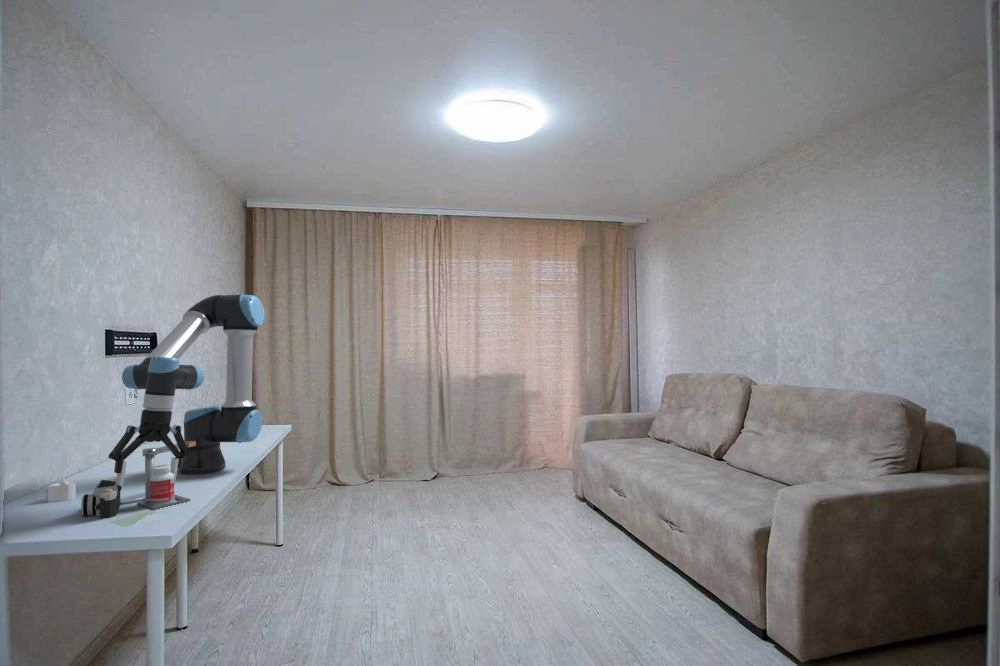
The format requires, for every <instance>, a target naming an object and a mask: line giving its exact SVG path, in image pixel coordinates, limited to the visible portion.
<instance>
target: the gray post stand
mask: <svg viewBox="0 0 1000 666" xmlns="http://www.w3.org/2000/svg"><path fill="white" fill-rule="evenodd" d="M155 465H156V464H155V455H154V456H147V457H145V456H144V471H145V472H144V486H145V487H144V489H145V491H144V492H145V493H144V495H145V497H144V498H141V500H142V501H138V502H136V504H137V505H136V506H140V507H142V508H146V509H150V510H152V509H153V511H157V509H158V510H161V509H160V508H162V509H165V508H164V507H166V508H169V507H168V506H170V507H173V506H172V505H174V506H176V504H177V505H181V504H184V502H185V503H188V501H189V502H191V498H189V497H184V496H181V495H177V494H175V502H172V503H168V504H164V505H160V506H154V505H151V504H150V477H151V476H152V475H153V473H152V468H153V467H156V466H155ZM176 499H177V500H176ZM180 503H181V504H180Z"/></svg>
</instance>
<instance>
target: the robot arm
mask: <svg viewBox="0 0 1000 666" xmlns="http://www.w3.org/2000/svg"><path fill="white" fill-rule="evenodd" d="M265 313H266V312H265V308H264V305H263V304H262V301H261V300H260V298H258V297H257V296H256V295H254V294H253V295H252V294H225V295H224V294H222V295H221V294H216V295H211V296H208V297H205V298H203V299H202V300H199V302H196V303H195V304H194V305H192V306H191V307H190V308H189V309H188V310H187V311H186V312H184V314H183V315H182V320H181V321H180V322H179V323H178V324H177V325H176V326H175V327H174V328H173V329H172V330H171V332H169V333H168V334H167V335H166V337H164V339H163V340H162V341H161V342H160V343H159V344H158V345H157V346H156V347H155V348H154V349H152V350H151V352H150V353H149V354H148V355H147V356H146V357H144V360H142V362H140V363H139V364H132V365H128V366H126V367H125V368H123V371H122V374H121V381H122V383H123V385H124V386H125V387H126V388H128V389H133V390H145V392H144V394H143V395H144V396H143V403H142V407H143V408H144V409H142V410H141V415H140V425H139V426H134V425H127V427H126V430H125V433H124V435H123V436H122V437H121V439H120V440H119V441H118V442H117V444H116V445H115V446H114V447H113V449H112V450H111V452H110V453H109V454H108V459H110V460H113V461H115V463H114V468H113V469H114V470H113V472H114V473H115V474H116V478H117V479H116V484H117V485H119V486H121V487H124V481H125V473H126V468H127V461H125V460H126V459H127V458H128V457H129V456H130V455H132V453H134V452H135V450H137V449H138V448H139V447H140V446H141V445H143V444H145V443H153V442H157V443H160V442H162V443H163V444H164V445H165V446H167V447H168V449H169V450H170V451H169V452H171V454H172V455H173V456H174V457H171V460H170V461H171V462H170V465H171V471H170V472H171V473H173V474H174V482H176V481H177V474H178V473H179V474H181V475H183V476H184V475H186V476H188V475H189V476H195V475H207V474H213V473H217V472H220V471H223V470H225V469H226V465H227V464H226V459H225V457H224V455H223V452H222V449H221V443H238V444H241V443H250V442H253V441H255V439H257V438H258V436H259V434H260V433H261V430H262V427H263V415H262V412H261V411H260V410H258V409H257V403H255V402H254V401H253V360H254V357H253V355H254V354H253V353H254V336H255V335H256V334H257V333H258V331H259V329H258V328H259V327H261V326H262V325H263V324H264V321H265V319H266V318H265V316H266V315H265ZM218 327H222V332H224V333H225V334H226V337H227V339H226V340H227V341H226V343H227V345H226V347H227V349H226V378H225V379H226V380H225V381H226V383H225V384H226V386H225V387H226V388H225V390H226V392H225V402H224V403H222V405H220V406H219V405H212V406H211V405H210V406H204V407H198V408H195V409H194V408H193V409H189V410H186V412H185V413H184V415H183V434H182V427H181V425H176V424H174V425H173V426H172V425H171V422H172V415H173V411H172V409H173V407H174V401H175V395H176V393H175V392H176V390H193V389H198V388H199V387H200V386H201V385H202V384H203V383H204V380H205V373H204V371H203V370H202V368H200V366H197V365H193V364H180V360H179V359H180V358H181V357H182V356H183V355H184V353H185V352H186V351H188V349H189V348H190V347H191V346H192V345H193V344H194V342H195V341H197V339H198V338H199V337H200V335H201V336H202V334H206V333H207V332H208V331H209V330H210V329H212V328H218ZM137 432H138V436H136V437H135V438H134V440H133V441H131V440H132V439H133V436H134V435H135V434H137ZM170 432H171V433H172V434H173V437H174V439H175V442H176V444H177V445H178V447H179V449H177V448H176V446H175V445H174V444H175V443H173V441H172V440H171V438H170V436H168V434H169V433H170ZM130 441H131V442H130ZM186 441H196V446H193V447H186V444H185V442H186ZM129 443H130V444H129ZM127 445H128V446H127Z"/></svg>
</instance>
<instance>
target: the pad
mask: <svg viewBox="0 0 1000 666" xmlns="http://www.w3.org/2000/svg"><path fill="white" fill-rule="evenodd" d="M153 513H154V514H155V513H156V514H157V513H158V512H156V511H154V510H153V511H152V510H149V511H145V512H141V513H138V514H133V515H129V516H126V517H122V518H118V519H115V520H110V523H113V524H116V525H119V526H122V527H124V526H125V527H124V528H127V527H126V526H128V525H129V526H131V524H132V525H133V524H136V522H138V520H141V519H143V517H144V518H145V516H147V515H150V514H151V515H152V514H153Z"/></svg>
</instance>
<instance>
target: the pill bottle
mask: <svg viewBox="0 0 1000 666" xmlns="http://www.w3.org/2000/svg"><path fill="white" fill-rule="evenodd" d="M170 471H171V464H164V465H163V464H161V465H157V466H155V467H153V468H152V473H153V475H152V476H151V477H150V503H149V504H151V505H154V506H160V505H164V504H168V503H172V502H176V499H175V495H176V494H175V492H176V491H175V481H174V474H173V473H171V472H170Z"/></svg>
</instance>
